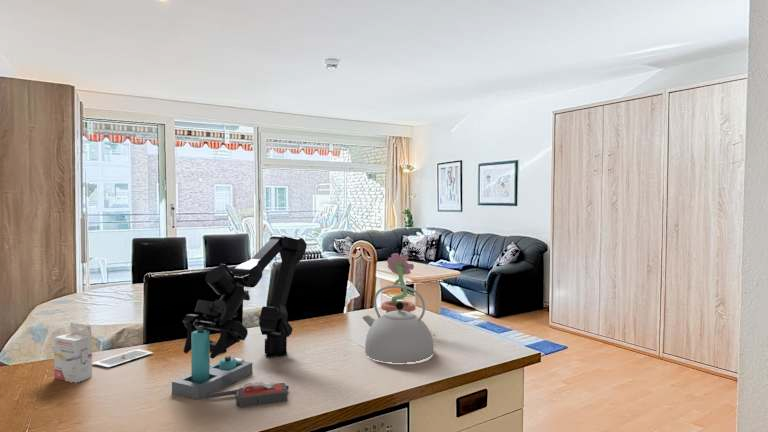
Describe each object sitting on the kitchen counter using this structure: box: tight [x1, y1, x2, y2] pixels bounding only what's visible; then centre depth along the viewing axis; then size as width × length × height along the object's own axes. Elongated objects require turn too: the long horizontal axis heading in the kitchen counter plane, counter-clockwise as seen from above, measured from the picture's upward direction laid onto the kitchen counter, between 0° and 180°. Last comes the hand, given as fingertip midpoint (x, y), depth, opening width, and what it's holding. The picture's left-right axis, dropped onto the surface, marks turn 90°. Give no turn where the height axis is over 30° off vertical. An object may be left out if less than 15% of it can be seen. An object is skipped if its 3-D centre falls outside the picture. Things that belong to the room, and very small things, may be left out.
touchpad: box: [92, 348, 154, 368], centre depth 141 cm, size 8×15×2 cm, turn 155°
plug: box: [190, 326, 211, 384], centre depth 118 cm, size 4×4×16 cm
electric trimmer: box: [210, 339, 227, 354], centre depth 153 cm, size 4×16×3 cm, turn 53°
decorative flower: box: [380, 252, 417, 313], centre depth 181 cm, size 15×14×30 cm
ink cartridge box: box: [54, 322, 93, 384], centre depth 125 cm, size 9×5×15 cm, turn 71°
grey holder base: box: [171, 355, 253, 400], centre depth 123 cm, size 20×9×6 cm, turn 156°
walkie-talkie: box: [205, 381, 290, 409], centre depth 113 cm, size 9×4×20 cm
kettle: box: [361, 284, 434, 363], centre depth 150 cm, size 25×23×22 cm
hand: (197, 355), depth 118 cm, fingers open, 9 cm apart
